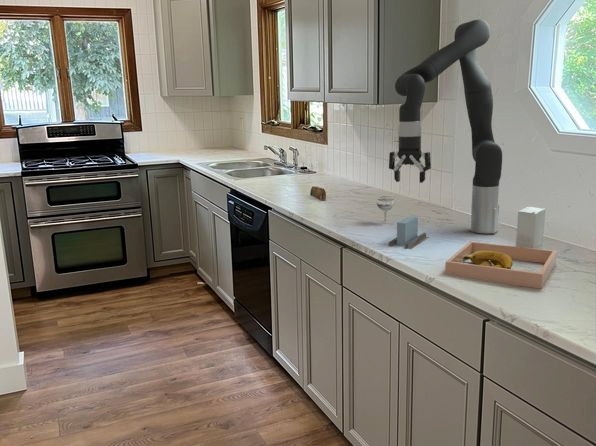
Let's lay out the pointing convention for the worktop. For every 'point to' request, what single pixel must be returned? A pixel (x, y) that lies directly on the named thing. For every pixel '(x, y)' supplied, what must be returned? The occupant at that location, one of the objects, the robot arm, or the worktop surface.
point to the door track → (412, 242)
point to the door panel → (407, 230)
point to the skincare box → (530, 227)
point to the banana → (495, 257)
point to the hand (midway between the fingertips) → (409, 182)
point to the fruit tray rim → (503, 274)
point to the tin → (318, 193)
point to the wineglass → (385, 204)
